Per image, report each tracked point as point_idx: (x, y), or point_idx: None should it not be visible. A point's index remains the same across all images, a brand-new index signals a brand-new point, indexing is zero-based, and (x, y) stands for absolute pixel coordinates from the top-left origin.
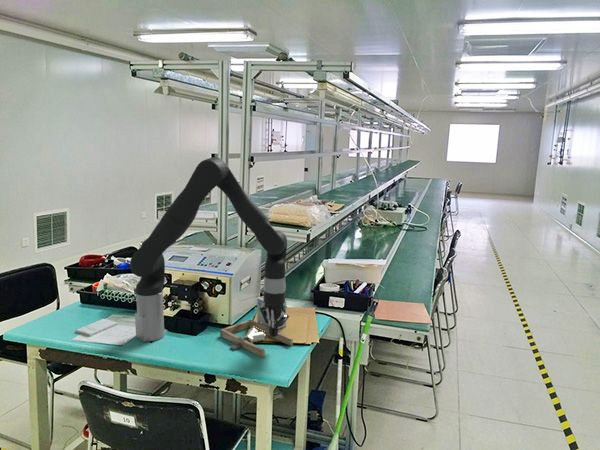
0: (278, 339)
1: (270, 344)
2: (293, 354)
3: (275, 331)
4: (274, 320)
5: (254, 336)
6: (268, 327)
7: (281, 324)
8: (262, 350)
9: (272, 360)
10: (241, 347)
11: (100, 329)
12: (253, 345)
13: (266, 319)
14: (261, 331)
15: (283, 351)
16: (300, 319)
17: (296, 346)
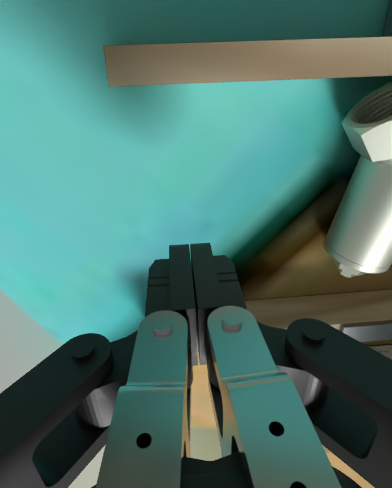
0: (254, 304)
1: (250, 237)
2: (35, 260)
3: (148, 300)
4: (117, 422)
5: (378, 185)
6: (381, 335)
7: (75, 414)
8: (109, 52)
9: (23, 85)
10: (386, 26)
11: None
12: (262, 57)
13: (319, 362)
14: (382, 271)
15: (110, 239)
16: (334, 465)
17: (121, 328)
